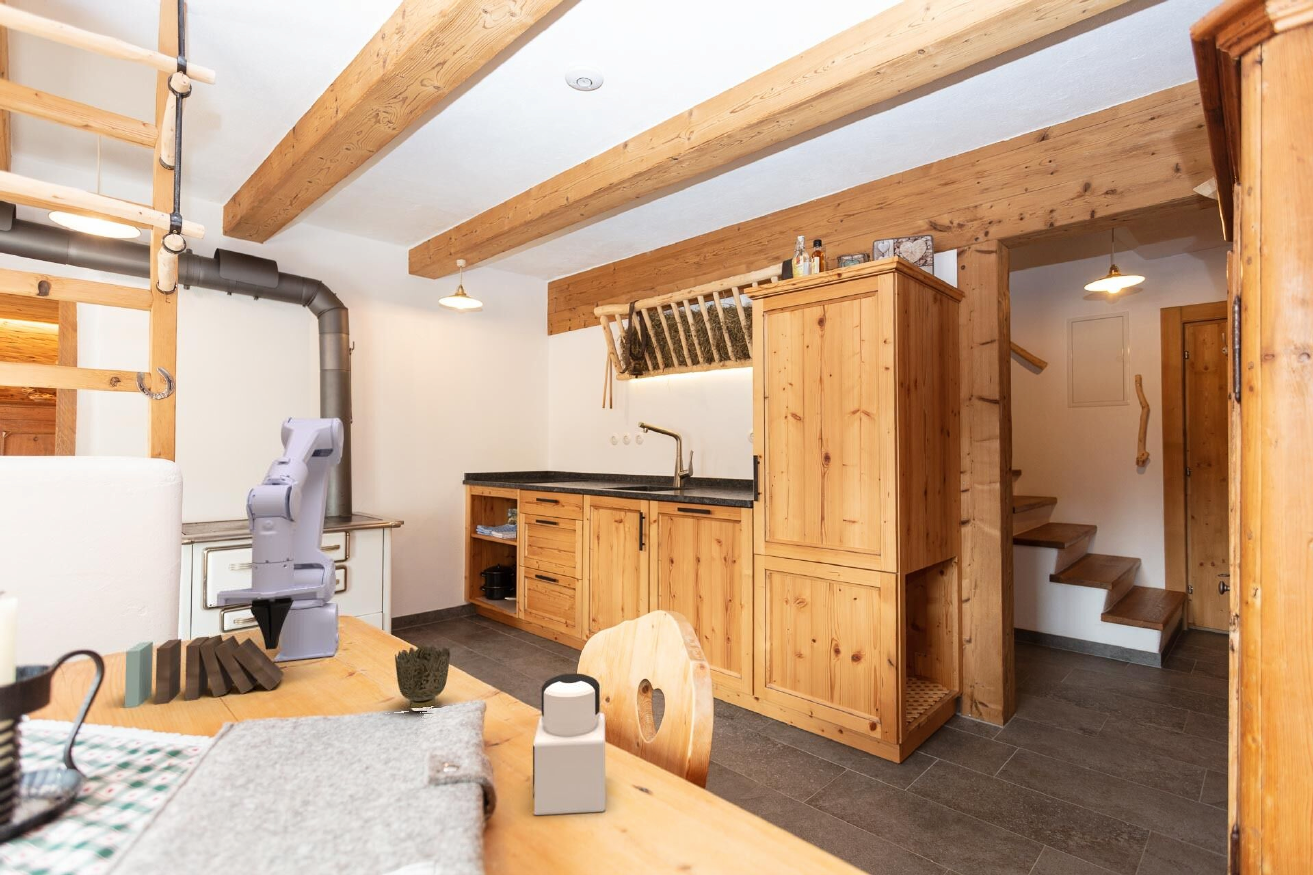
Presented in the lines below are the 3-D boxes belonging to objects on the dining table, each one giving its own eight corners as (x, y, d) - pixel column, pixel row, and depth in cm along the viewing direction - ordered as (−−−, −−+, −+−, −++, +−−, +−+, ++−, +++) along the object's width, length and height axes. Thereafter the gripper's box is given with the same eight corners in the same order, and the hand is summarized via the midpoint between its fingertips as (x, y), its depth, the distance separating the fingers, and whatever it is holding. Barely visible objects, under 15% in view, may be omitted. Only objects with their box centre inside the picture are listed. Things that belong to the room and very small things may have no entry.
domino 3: (208, 688, 99) (209, 636, 99) (198, 699, 94) (199, 644, 95) (195, 689, 99) (196, 637, 99) (185, 701, 94) (186, 646, 94)
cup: (382, 714, 88) (382, 656, 88) (419, 696, 95) (419, 642, 95) (426, 722, 85) (426, 661, 86) (461, 702, 92) (461, 646, 93)
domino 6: (284, 673, 103) (249, 637, 101) (278, 683, 98) (241, 645, 97) (275, 680, 102) (239, 644, 101) (268, 690, 98) (231, 653, 96)
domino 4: (234, 682, 100) (220, 634, 100) (226, 693, 96) (211, 642, 95) (223, 686, 100) (209, 638, 99) (214, 697, 95) (199, 646, 95)
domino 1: (151, 694, 97) (152, 641, 97) (138, 706, 92) (139, 650, 92) (138, 696, 96) (139, 642, 96) (124, 708, 91) (126, 651, 92)
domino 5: (260, 677, 102) (233, 635, 101) (252, 688, 97) (225, 643, 96) (249, 683, 101) (223, 640, 100) (241, 694, 96) (213, 649, 95)
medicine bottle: (539, 780, 70) (539, 669, 70) (605, 777, 70) (604, 666, 71) (532, 816, 62) (532, 692, 63) (605, 812, 63) (605, 689, 64)
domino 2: (180, 691, 98) (181, 638, 98) (168, 702, 93) (169, 647, 93) (167, 692, 97) (168, 639, 98) (155, 704, 93) (156, 648, 93)
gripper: (211, 567, 94) (209, 660, 94) (321, 561, 100) (320, 649, 99) (224, 560, 101) (222, 647, 100) (326, 555, 106) (325, 637, 106)
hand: (271, 647), depth 100 cm, fingers closed
